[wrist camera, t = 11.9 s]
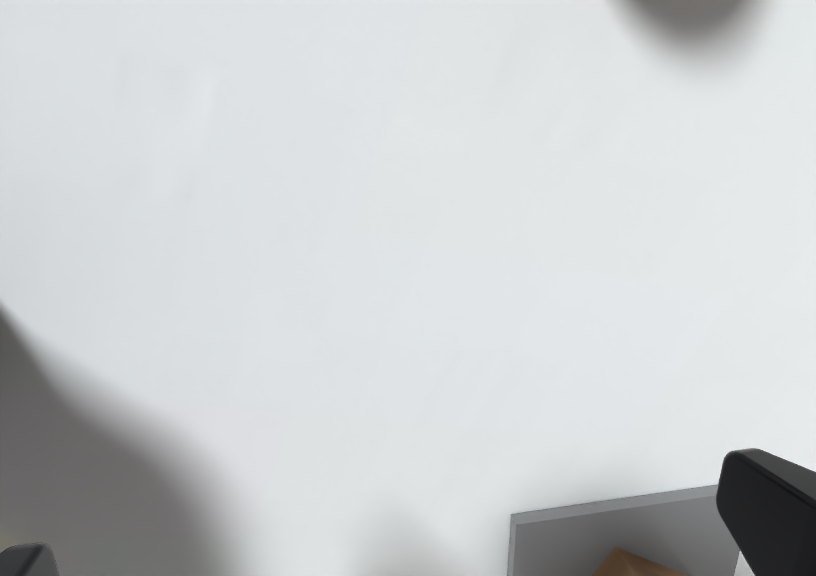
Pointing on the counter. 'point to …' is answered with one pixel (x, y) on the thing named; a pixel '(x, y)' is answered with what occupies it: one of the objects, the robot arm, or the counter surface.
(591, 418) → the counter surface
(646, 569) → the block
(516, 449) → the counter surface
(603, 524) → the coaster
